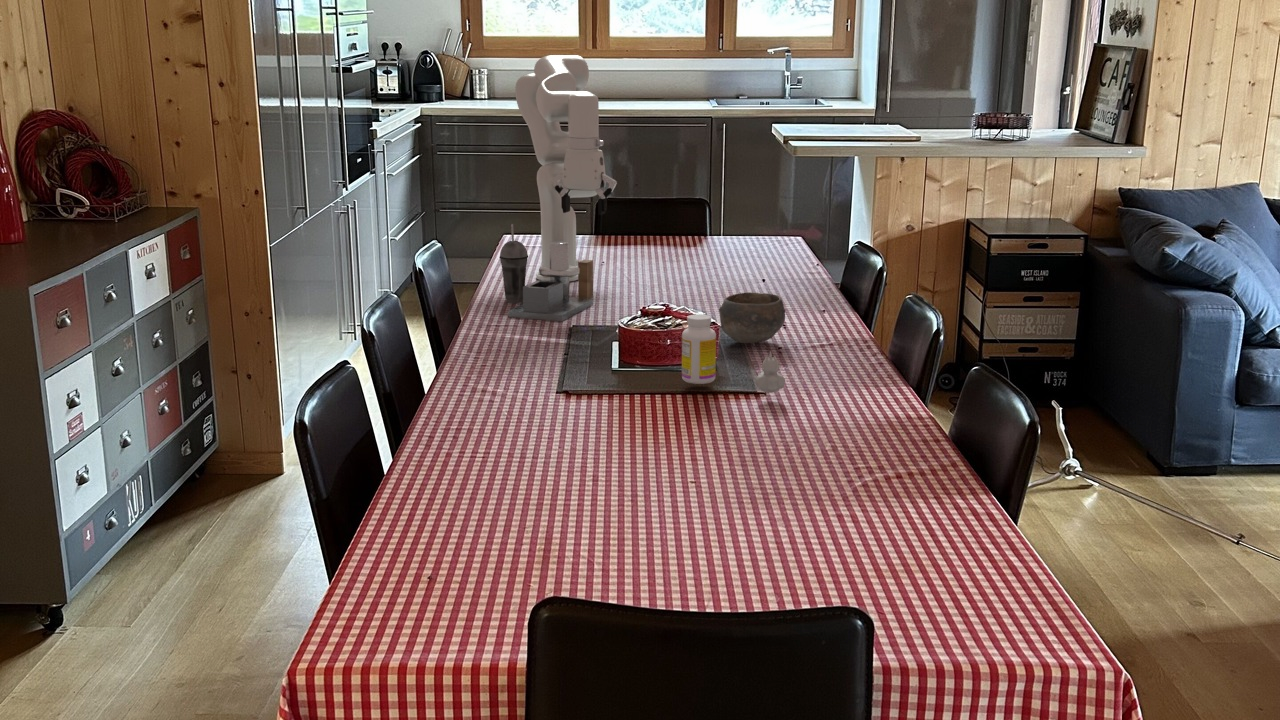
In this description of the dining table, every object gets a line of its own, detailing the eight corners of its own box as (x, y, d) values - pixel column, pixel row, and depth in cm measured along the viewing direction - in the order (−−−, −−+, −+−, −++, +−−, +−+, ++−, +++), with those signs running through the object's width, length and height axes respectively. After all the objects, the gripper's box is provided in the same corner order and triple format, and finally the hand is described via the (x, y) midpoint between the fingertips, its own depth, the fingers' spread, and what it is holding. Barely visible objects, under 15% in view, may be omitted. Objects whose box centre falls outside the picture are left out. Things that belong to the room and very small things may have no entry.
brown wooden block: (584, 297, 314) (584, 259, 312) (593, 298, 313) (593, 260, 311) (578, 300, 311) (578, 262, 308) (587, 301, 310) (587, 262, 307)
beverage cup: (531, 298, 313) (530, 221, 307) (526, 304, 306) (524, 225, 300) (503, 298, 313) (501, 221, 308) (497, 304, 306) (495, 225, 301)
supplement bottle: (719, 377, 242) (720, 314, 238) (710, 386, 236) (711, 321, 232) (687, 374, 244) (687, 311, 241) (677, 383, 238) (678, 319, 235)
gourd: (780, 387, 235) (782, 347, 233) (787, 397, 229) (789, 356, 227) (753, 388, 235) (754, 348, 233) (759, 398, 228) (760, 356, 226)
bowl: (792, 337, 274) (793, 293, 271) (770, 353, 261) (771, 307, 258) (734, 331, 280) (735, 288, 277) (709, 345, 266) (710, 301, 264)
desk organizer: (542, 300, 311) (541, 238, 307) (593, 304, 306) (592, 241, 302) (508, 316, 293) (506, 251, 288) (562, 321, 288) (561, 254, 284)
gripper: (621, 144, 302) (621, 213, 307) (557, 142, 308) (558, 209, 312) (610, 147, 295) (610, 217, 300) (545, 144, 301) (546, 213, 306)
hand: (584, 213), depth 306 cm, fingers open, 9 cm apart
